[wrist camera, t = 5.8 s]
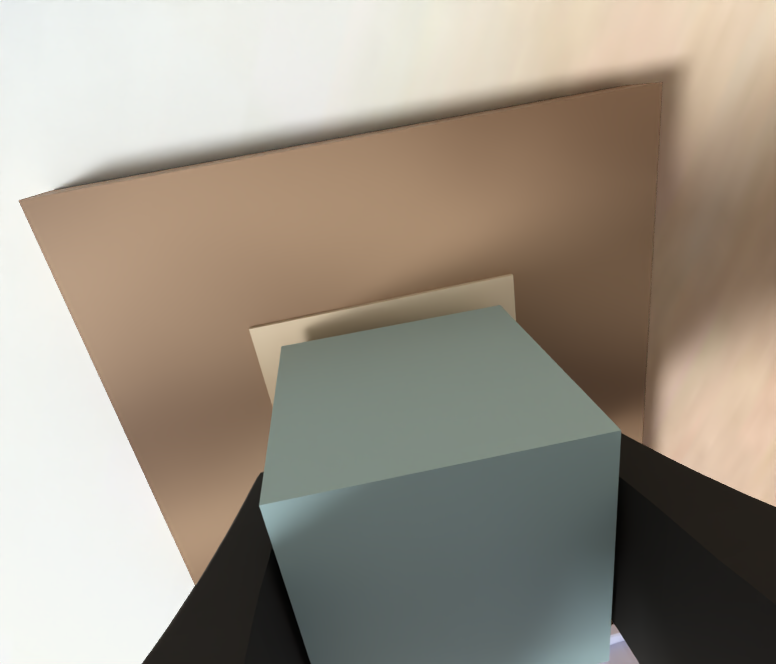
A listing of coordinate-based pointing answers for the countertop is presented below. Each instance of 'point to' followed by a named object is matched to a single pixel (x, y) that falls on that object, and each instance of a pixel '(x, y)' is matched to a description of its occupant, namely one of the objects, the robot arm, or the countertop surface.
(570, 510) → the teal cube
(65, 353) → the countertop surface
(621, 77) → the countertop surface
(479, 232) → the plate
